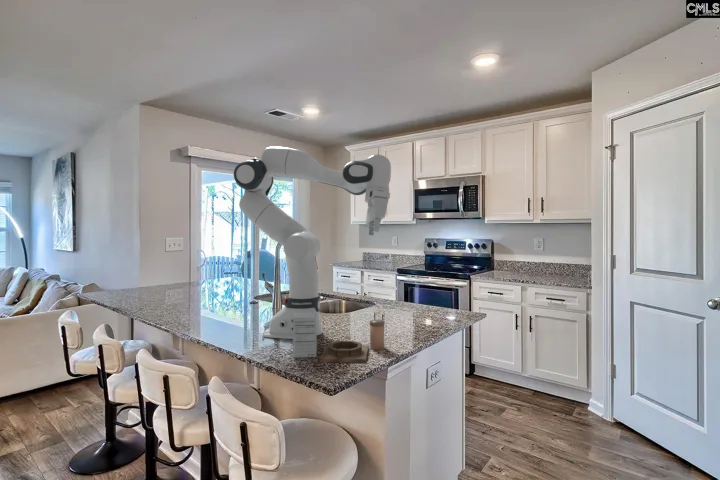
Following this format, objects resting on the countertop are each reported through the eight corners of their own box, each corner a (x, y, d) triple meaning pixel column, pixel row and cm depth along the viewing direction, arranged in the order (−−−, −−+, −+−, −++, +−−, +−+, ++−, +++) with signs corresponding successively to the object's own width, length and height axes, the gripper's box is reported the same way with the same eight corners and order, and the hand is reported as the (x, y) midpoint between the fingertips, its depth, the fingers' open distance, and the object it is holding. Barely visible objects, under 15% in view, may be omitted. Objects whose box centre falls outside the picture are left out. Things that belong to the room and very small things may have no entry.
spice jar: (369, 350, 129) (369, 323, 128) (370, 345, 134) (370, 319, 133) (384, 350, 128) (384, 323, 128) (384, 345, 133) (384, 319, 133)
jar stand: (319, 361, 118) (319, 351, 118) (327, 347, 132) (327, 339, 132) (365, 362, 116) (365, 352, 116) (368, 348, 130) (368, 339, 130)
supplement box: (294, 350, 129) (294, 312, 129) (317, 349, 130) (316, 312, 129) (292, 358, 122) (292, 317, 121) (316, 357, 122) (316, 316, 122)
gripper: (363, 202, 156) (360, 236, 154) (373, 189, 136) (369, 228, 134) (379, 204, 157) (376, 238, 155) (391, 192, 137) (387, 230, 135)
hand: (373, 233), depth 145 cm, fingers open, 8 cm apart
